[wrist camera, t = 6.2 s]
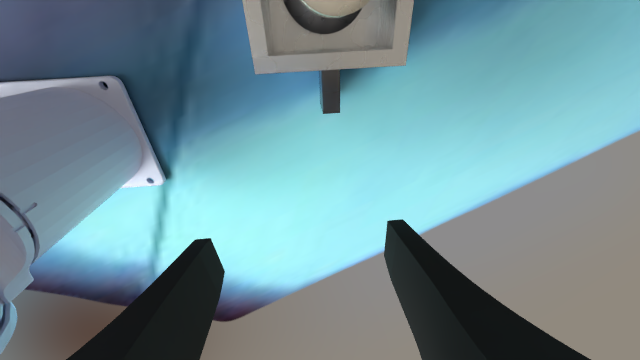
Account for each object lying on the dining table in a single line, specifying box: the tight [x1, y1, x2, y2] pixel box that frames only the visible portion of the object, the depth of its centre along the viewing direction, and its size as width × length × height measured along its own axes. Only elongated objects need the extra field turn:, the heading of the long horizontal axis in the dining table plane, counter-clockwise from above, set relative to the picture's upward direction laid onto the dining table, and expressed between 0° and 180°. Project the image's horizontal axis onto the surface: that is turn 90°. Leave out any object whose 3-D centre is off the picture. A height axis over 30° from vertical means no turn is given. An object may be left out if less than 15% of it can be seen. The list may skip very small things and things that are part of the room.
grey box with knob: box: [242, 0, 414, 114], centre depth 13 cm, size 8×10×4 cm
